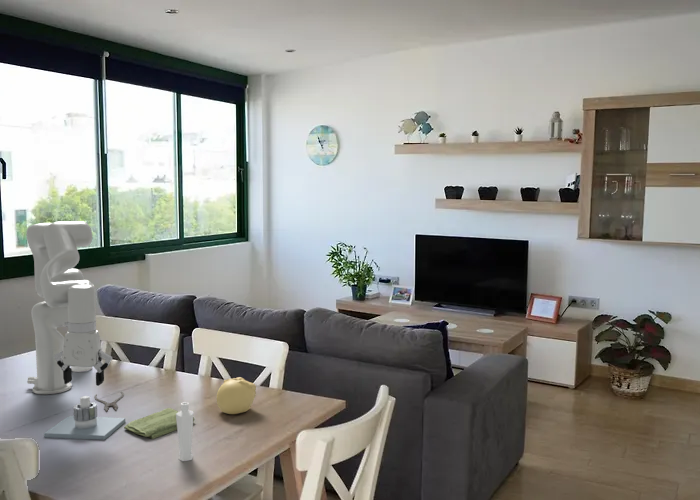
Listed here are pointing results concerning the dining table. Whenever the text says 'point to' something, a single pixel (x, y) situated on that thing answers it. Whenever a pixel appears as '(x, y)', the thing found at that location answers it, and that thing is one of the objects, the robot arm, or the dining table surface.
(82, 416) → the ring
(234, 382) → the pale yellow round lump
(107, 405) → the pliers
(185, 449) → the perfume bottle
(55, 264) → the robot arm
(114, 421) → the piston block
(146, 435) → the washcloth
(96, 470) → the dining table surface
